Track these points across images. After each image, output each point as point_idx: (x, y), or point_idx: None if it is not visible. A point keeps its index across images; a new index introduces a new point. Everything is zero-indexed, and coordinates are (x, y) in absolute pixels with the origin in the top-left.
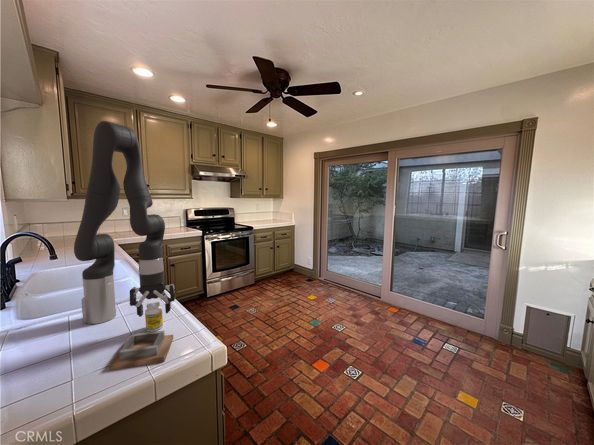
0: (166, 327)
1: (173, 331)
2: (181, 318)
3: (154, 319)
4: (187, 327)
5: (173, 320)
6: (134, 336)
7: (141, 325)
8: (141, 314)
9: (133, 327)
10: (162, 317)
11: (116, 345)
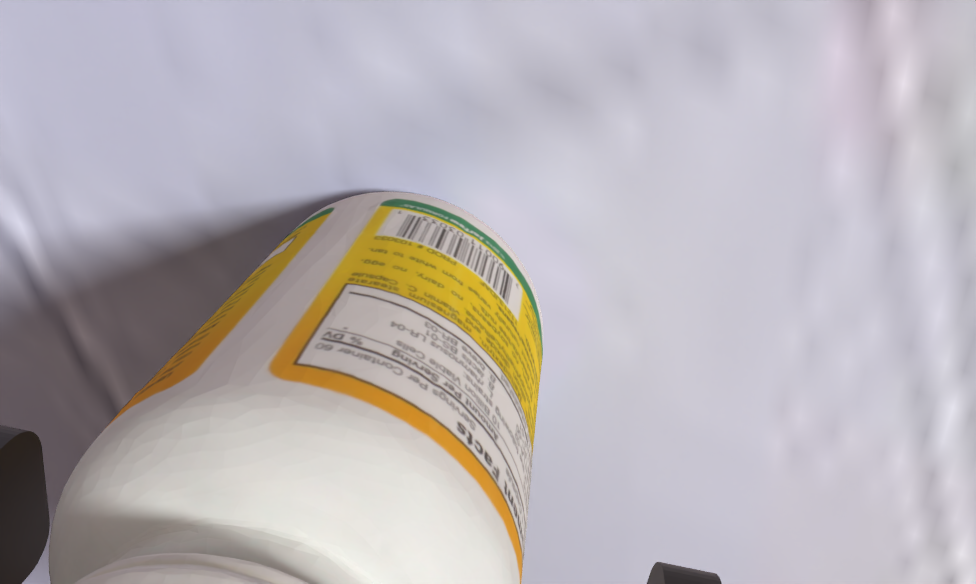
0: (605, 378)
1: (711, 545)
2: (939, 114)
3: None
4: (950, 524)
5: (753, 141)
6: None
7: (127, 97)
8: (14, 560)
9: (3, 121)
10: (534, 432)
11: None
